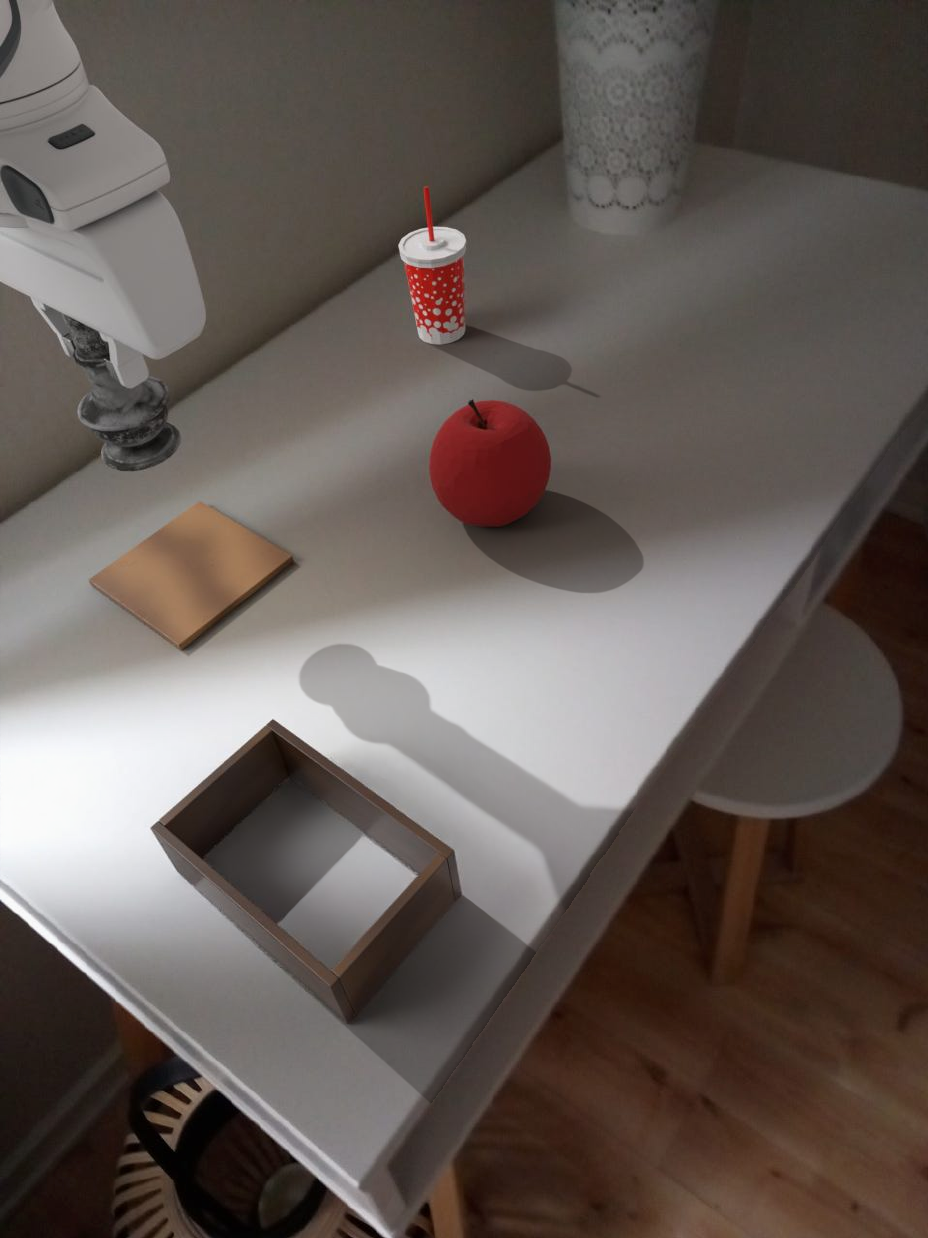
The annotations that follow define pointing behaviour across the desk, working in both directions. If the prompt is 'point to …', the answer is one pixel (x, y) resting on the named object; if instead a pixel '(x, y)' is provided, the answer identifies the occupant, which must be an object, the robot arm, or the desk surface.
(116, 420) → the grey stone turned piece
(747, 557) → the desk surface
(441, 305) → the beverage cup
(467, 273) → the desk surface
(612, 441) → the desk surface
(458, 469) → the apple
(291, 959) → the open wooden box
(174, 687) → the desk surface
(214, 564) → the trivet
